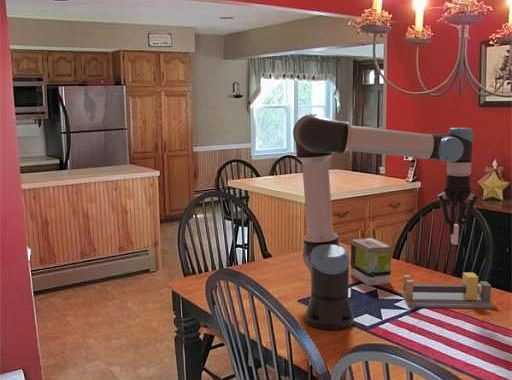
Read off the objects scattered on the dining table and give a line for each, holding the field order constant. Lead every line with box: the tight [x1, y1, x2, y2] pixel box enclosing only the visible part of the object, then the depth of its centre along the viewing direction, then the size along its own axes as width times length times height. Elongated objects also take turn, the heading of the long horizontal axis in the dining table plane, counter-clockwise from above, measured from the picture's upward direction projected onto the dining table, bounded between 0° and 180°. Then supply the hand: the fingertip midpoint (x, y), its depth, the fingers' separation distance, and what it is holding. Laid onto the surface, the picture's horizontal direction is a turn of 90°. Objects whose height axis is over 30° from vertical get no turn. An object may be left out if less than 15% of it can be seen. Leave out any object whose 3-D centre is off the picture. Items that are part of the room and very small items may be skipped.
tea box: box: [350, 237, 392, 286], centre depth 208 cm, size 15×10×15 cm, turn 17°
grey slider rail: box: [401, 274, 495, 309], centre depth 184 cm, size 12×28×8 cm, turn 85°
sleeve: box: [461, 272, 479, 300], centre depth 183 cm, size 5×4×8 cm
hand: (454, 243), depth 181 cm, fingers closed
